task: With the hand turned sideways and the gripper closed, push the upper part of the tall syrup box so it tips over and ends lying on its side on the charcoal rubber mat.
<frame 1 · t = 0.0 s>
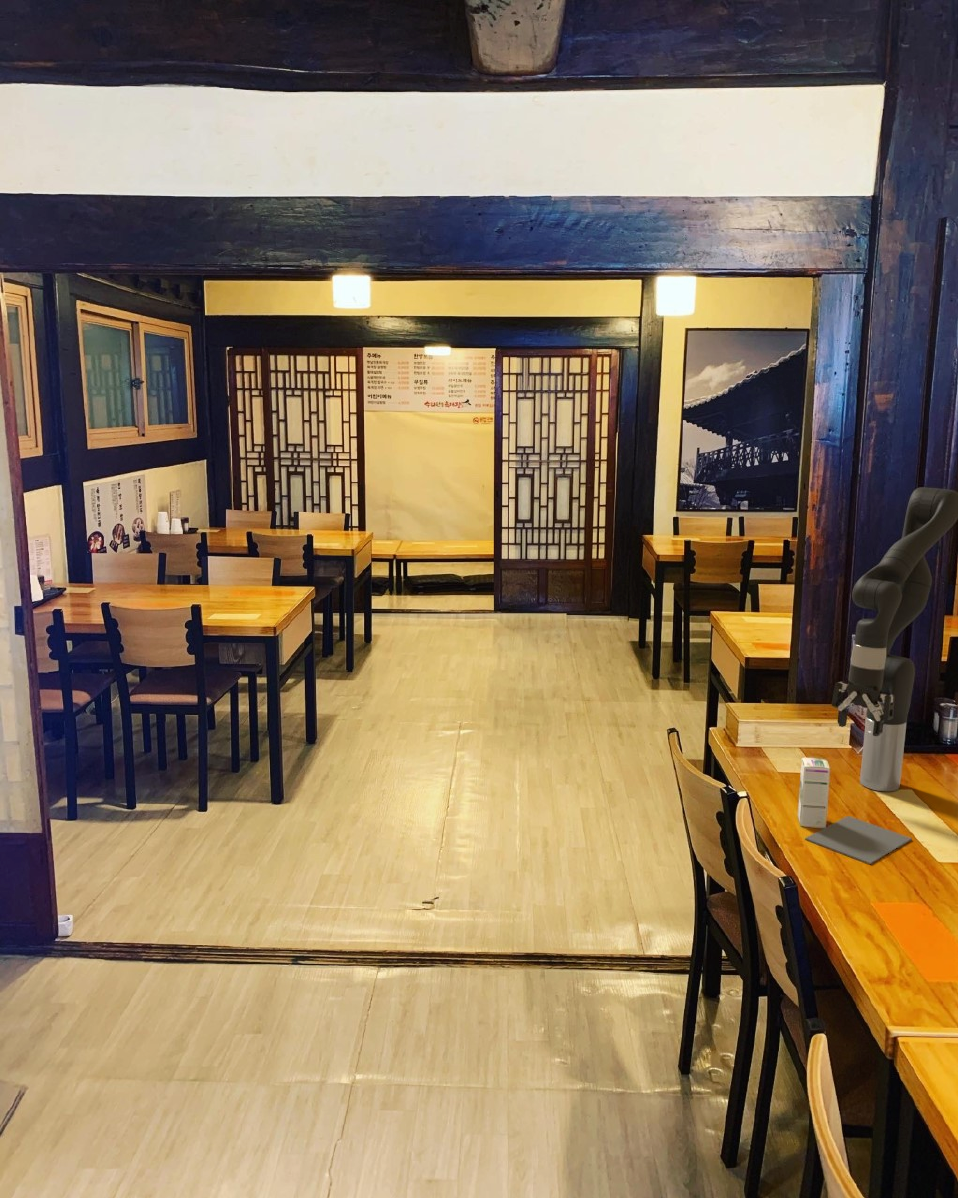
hand: (858, 730, 235), 17 cm above the table, tool pointing down, fingers open, 8 cm apart
syrup box: (811, 823, 225), on the table
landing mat: (858, 840, 216), on the table
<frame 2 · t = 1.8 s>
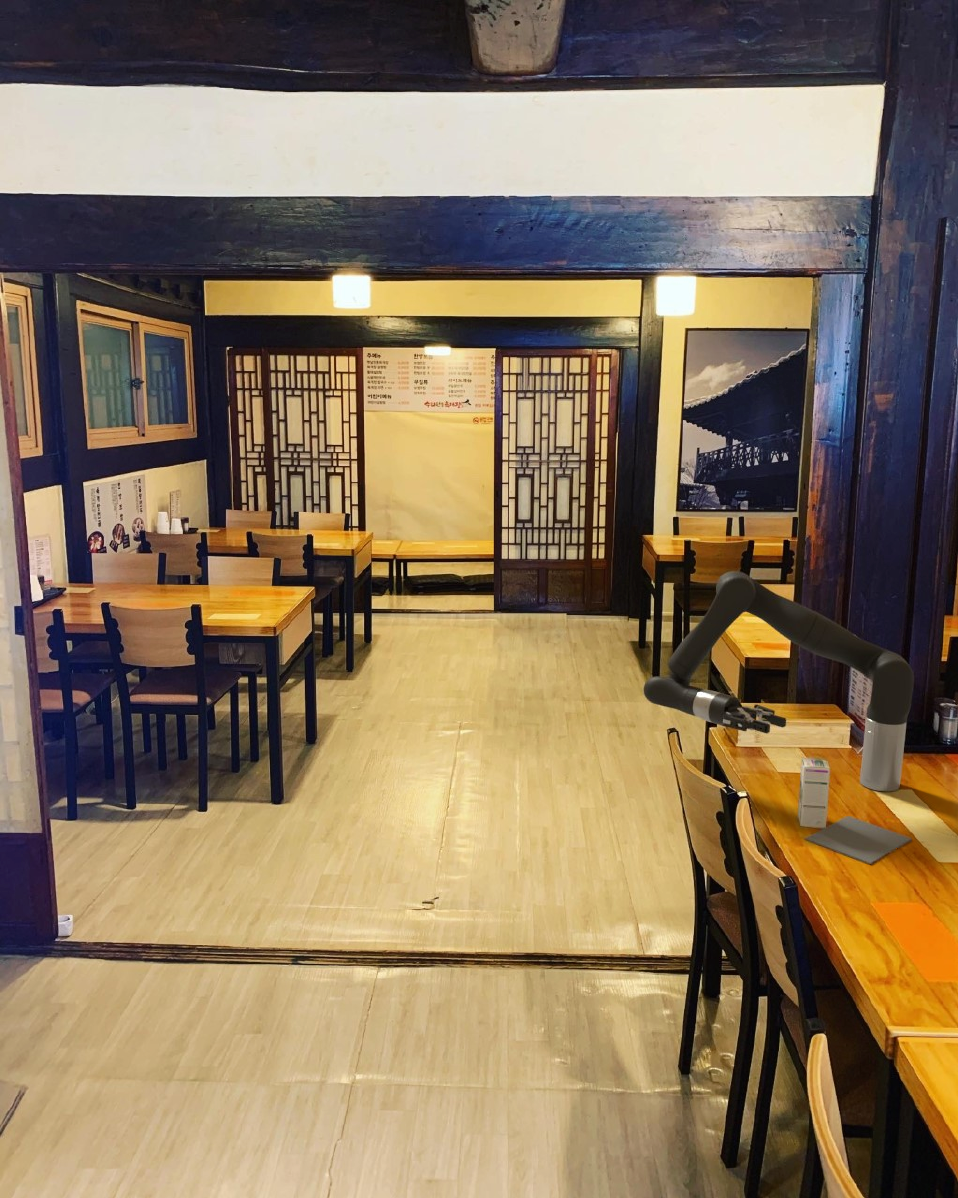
hand: (777, 726, 228), 20 cm above the table, tool horizontal, fingers open, 6 cm apart
nothing on the table moved.
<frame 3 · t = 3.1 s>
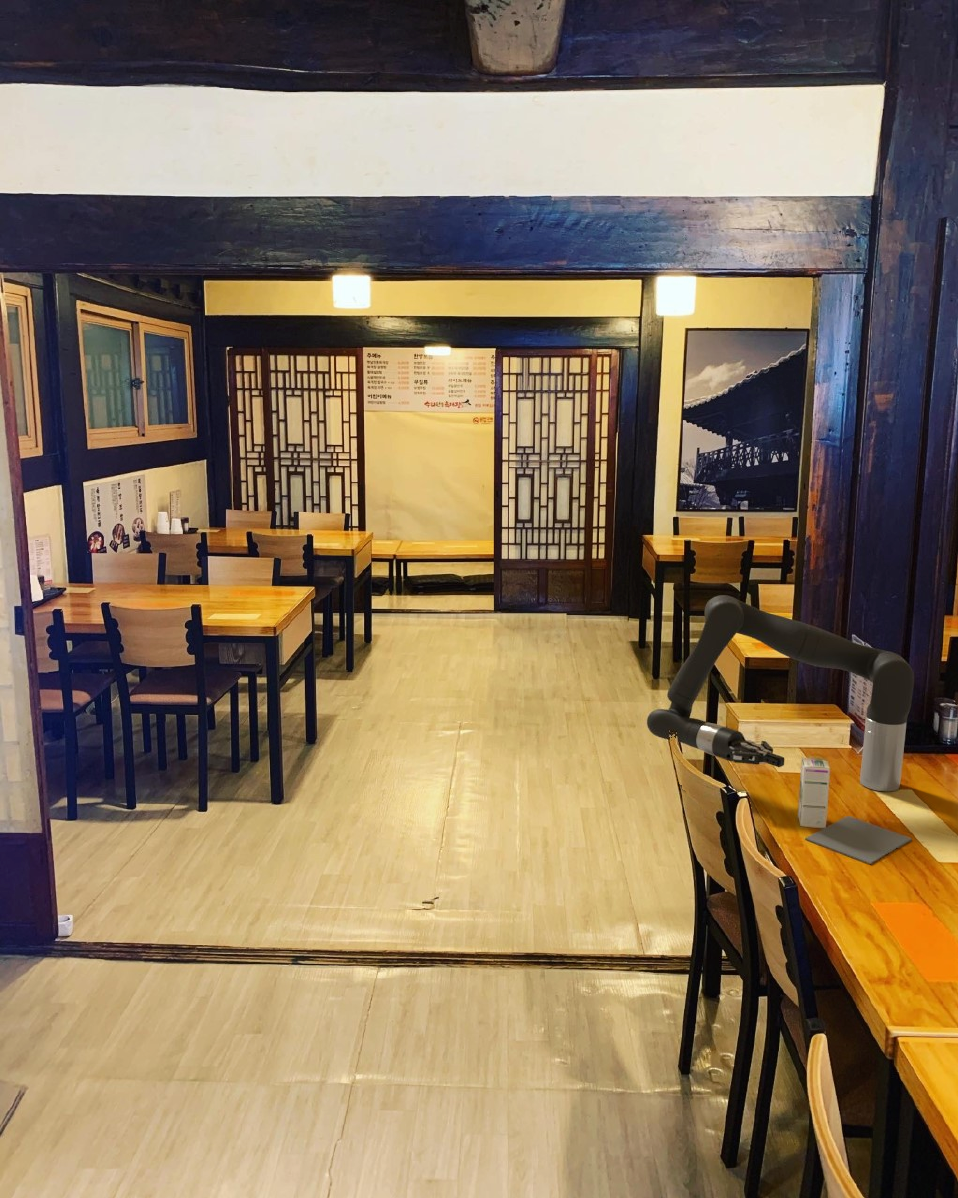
hand: (782, 762, 228), 12 cm above the table, tool horizontal, fingers closed
nothing on the table moved.
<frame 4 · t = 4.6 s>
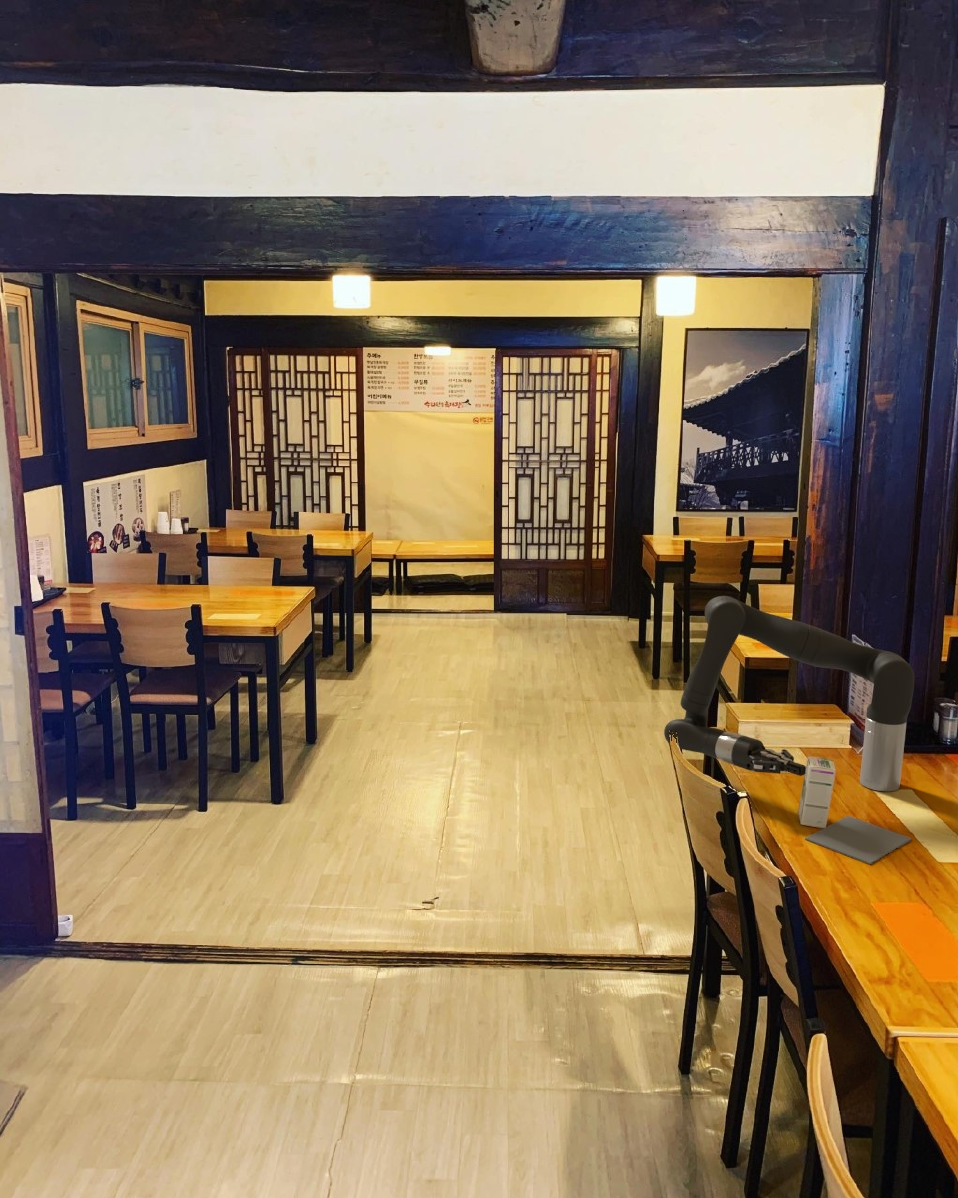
hand: (804, 771, 225), 11 cm above the table, tool horizontal, fingers closed
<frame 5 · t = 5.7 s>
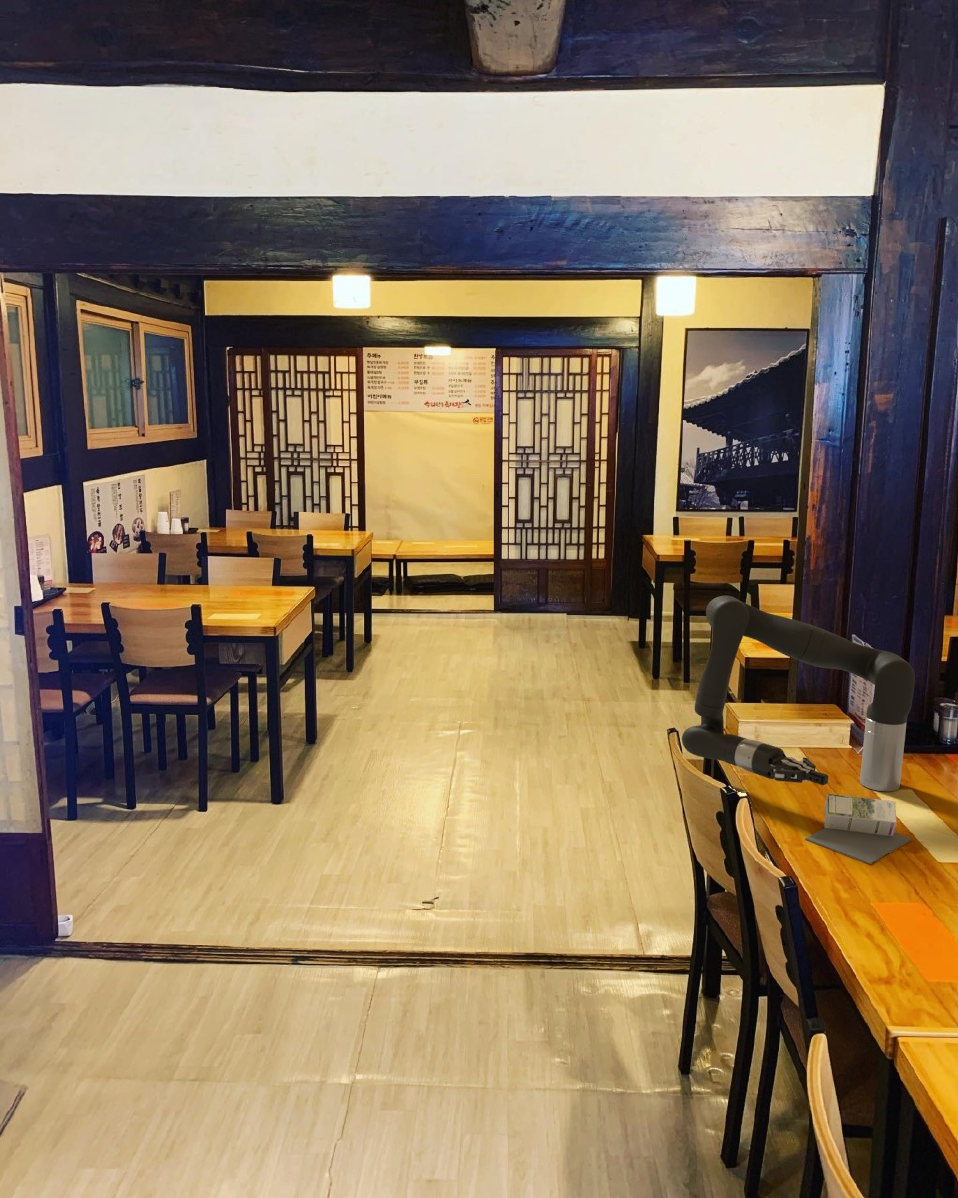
hand: (826, 780, 221), 11 cm above the table, tool horizontal, fingers closed
syrup box: (824, 810, 221), point 4 cm above the table, touching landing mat
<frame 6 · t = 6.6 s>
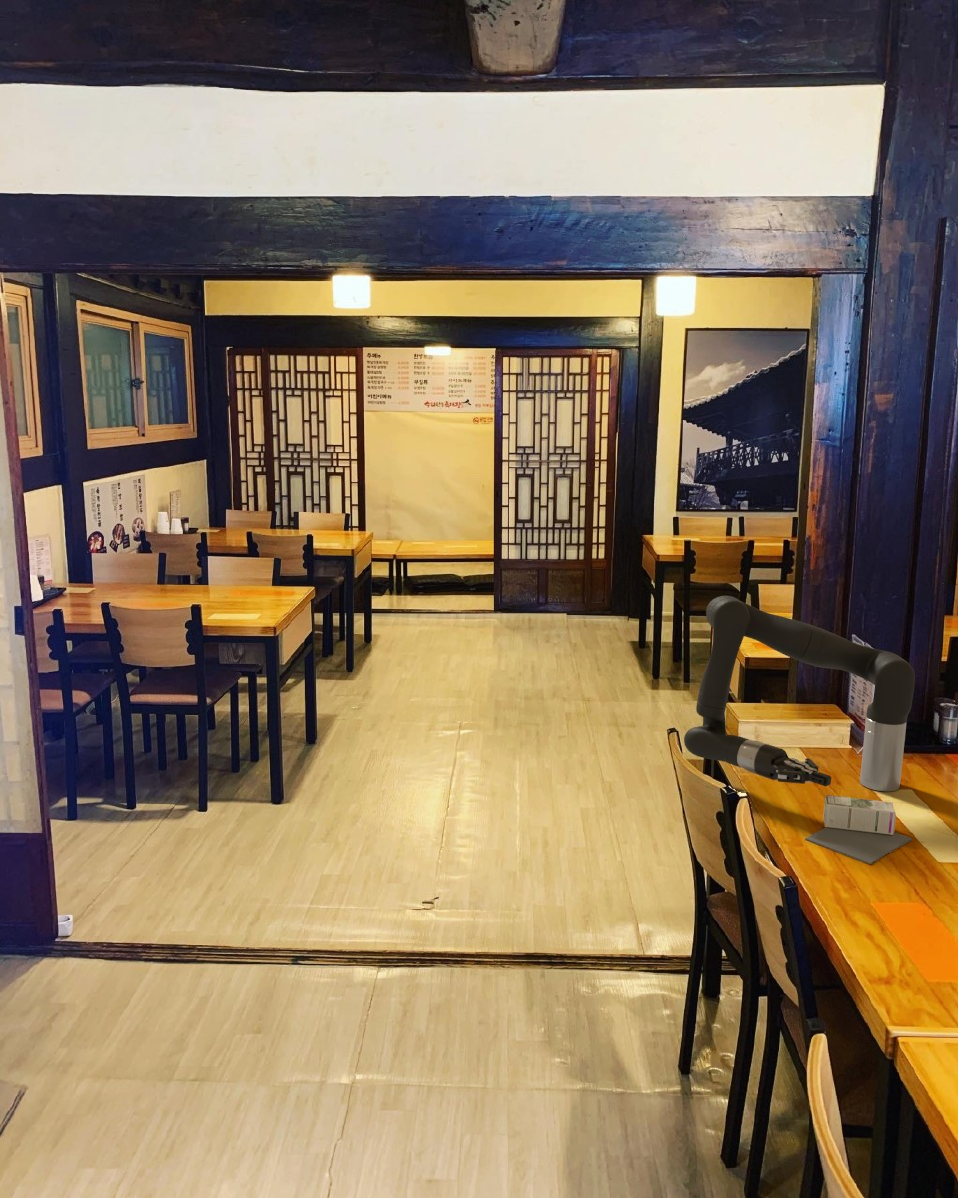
hand: (829, 781, 220), 11 cm above the table, tool horizontal, fingers closed
syrup box: (823, 810, 223), point 3 cm above the table, touching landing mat
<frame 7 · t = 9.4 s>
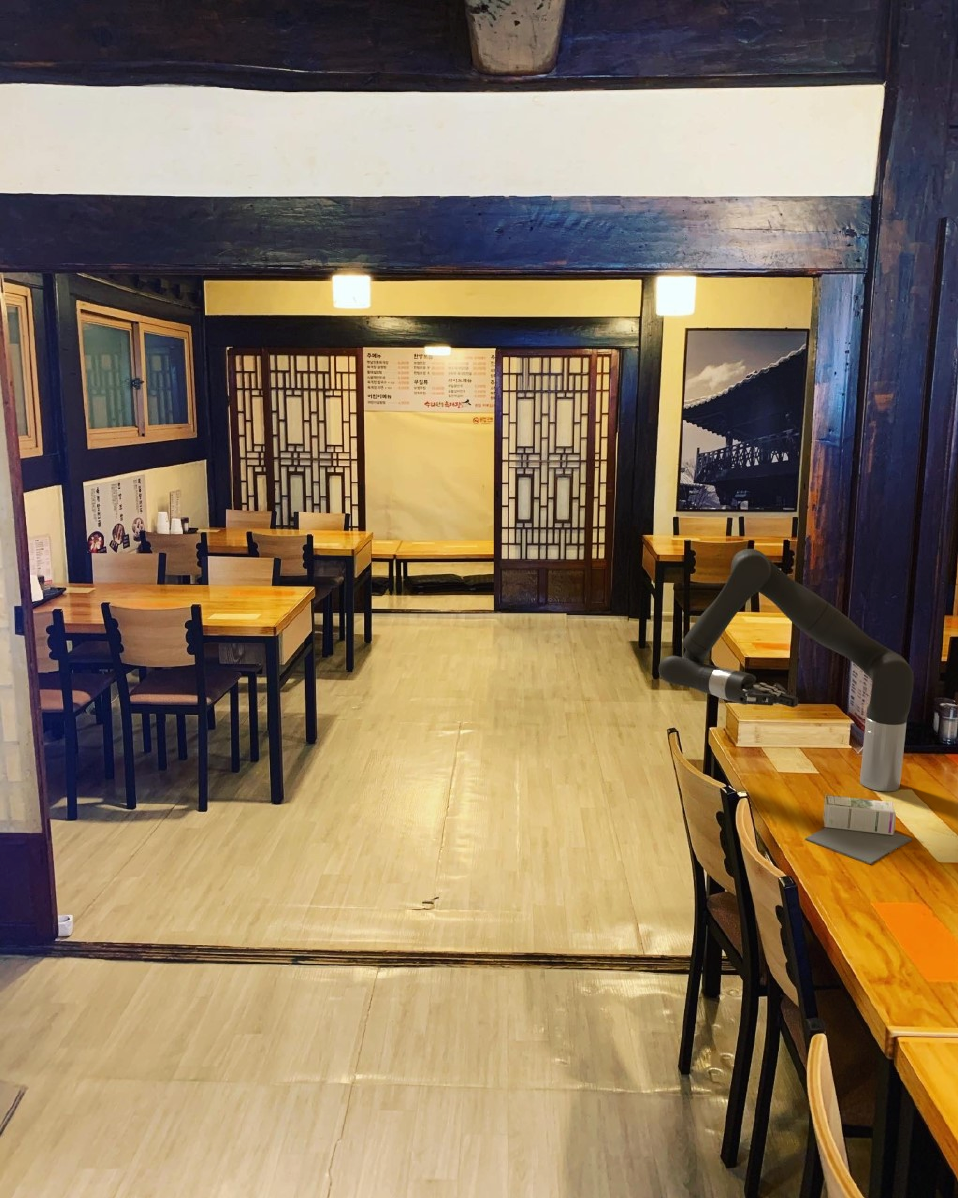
hand: (796, 702, 227), 26 cm above the table, tool horizontal, fingers closed
nothing on the table moved.
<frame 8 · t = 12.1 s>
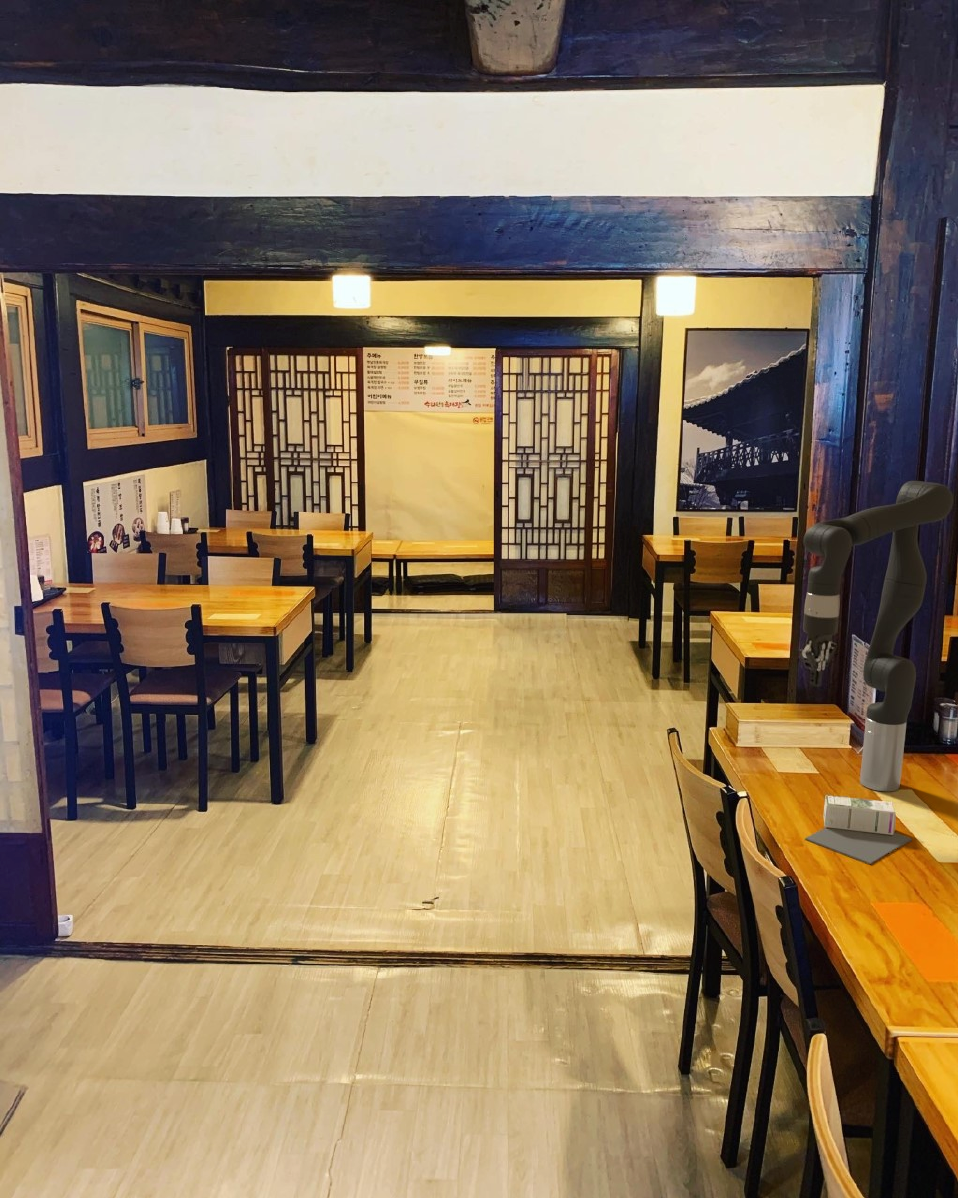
hand: (815, 685, 230), 29 cm above the table, tool pointing down, fingers closed
nothing on the table moved.
at the end: syrup box tilted 91°; syrup box inside the target area (2.1 cm from its centre), point 3.4 cm above the table; syrup box touching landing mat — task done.
